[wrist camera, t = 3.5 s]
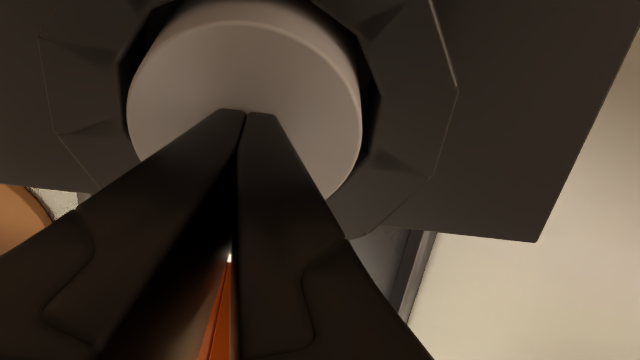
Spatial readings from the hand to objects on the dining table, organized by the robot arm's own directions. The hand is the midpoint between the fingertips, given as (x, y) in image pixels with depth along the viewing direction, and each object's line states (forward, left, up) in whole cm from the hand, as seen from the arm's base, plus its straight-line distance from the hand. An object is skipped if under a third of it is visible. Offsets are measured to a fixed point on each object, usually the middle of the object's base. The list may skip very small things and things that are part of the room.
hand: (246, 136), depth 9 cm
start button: (0, 0, -2) cm, 2 cm away
